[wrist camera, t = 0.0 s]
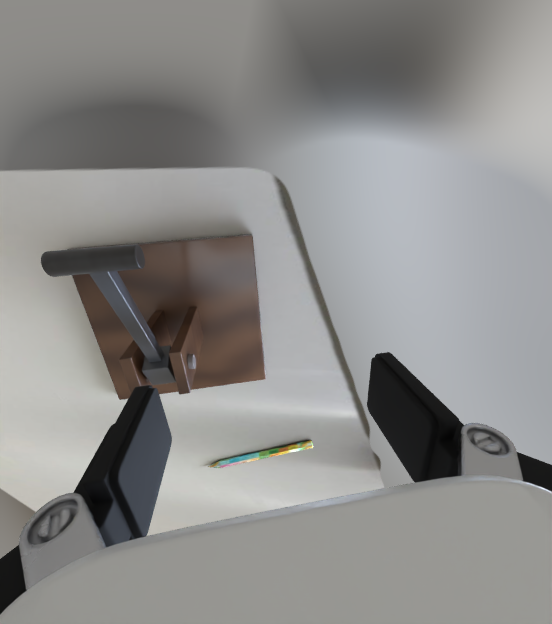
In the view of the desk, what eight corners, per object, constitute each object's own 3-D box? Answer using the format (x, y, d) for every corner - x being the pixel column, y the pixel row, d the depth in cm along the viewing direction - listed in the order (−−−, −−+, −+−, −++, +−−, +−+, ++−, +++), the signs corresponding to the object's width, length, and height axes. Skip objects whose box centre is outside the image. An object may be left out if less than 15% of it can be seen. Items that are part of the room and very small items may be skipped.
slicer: (68, 248, 28) (-33, 276, 18) (251, 234, 30) (260, 251, 20) (122, 394, 36) (75, 474, 25) (265, 374, 38) (276, 441, 28)
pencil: (209, 466, 44) (311, 443, 46) (208, 472, 43) (313, 449, 44) (207, 461, 44) (311, 438, 45) (206, 467, 43) (313, 443, 44)
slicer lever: (50, 241, 15) (32, 267, 14) (139, 235, 16) (131, 258, 14) (141, 365, 26) (136, 388, 24) (193, 358, 26) (191, 380, 25)
